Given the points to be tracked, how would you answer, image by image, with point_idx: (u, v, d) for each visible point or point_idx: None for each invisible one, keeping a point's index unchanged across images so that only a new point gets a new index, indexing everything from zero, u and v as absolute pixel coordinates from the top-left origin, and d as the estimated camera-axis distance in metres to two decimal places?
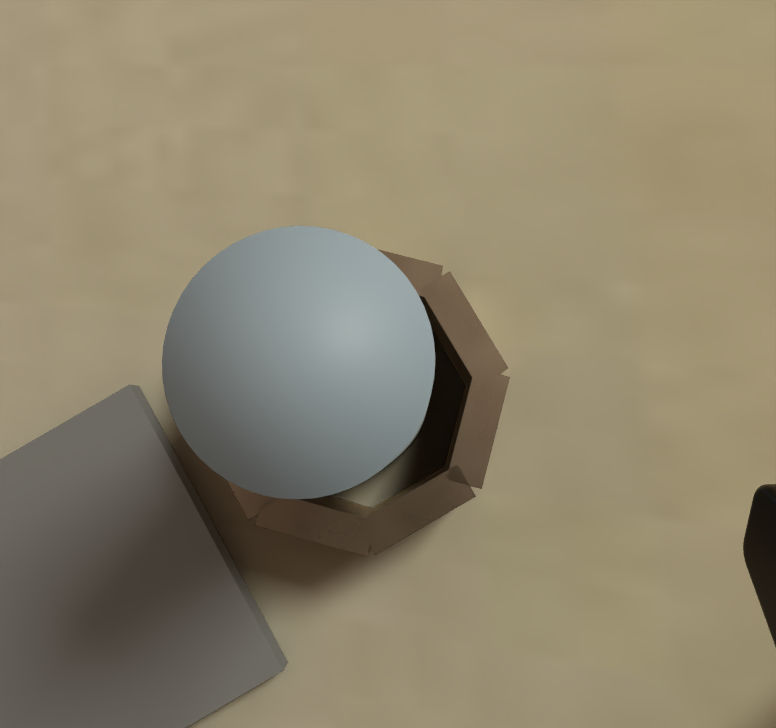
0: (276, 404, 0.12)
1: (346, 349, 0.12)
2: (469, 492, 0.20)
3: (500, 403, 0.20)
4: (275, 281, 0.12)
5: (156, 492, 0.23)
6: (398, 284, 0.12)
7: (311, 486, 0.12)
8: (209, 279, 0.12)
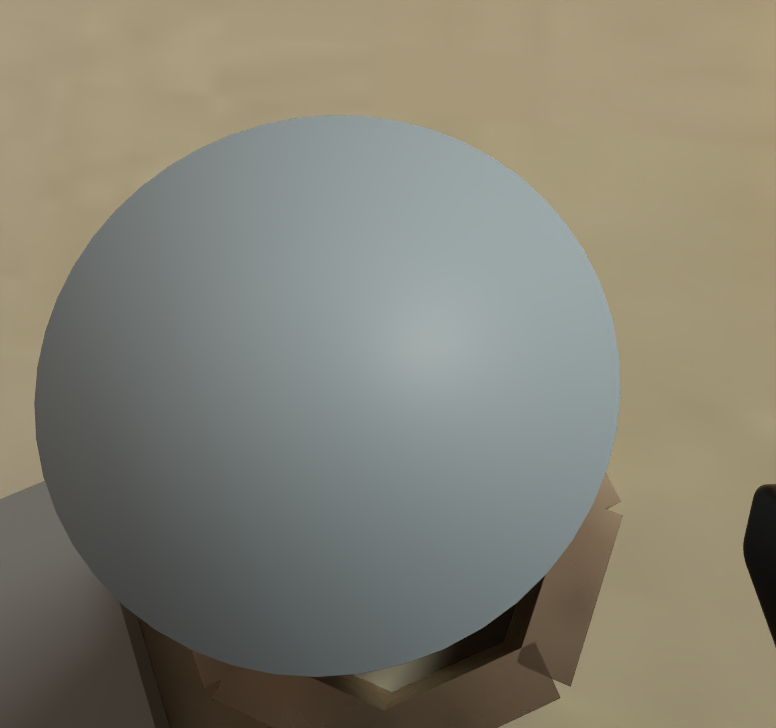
0: (264, 447, 0.05)
1: (429, 350, 0.06)
2: (550, 690, 0.13)
3: (606, 553, 0.14)
4: (301, 207, 0.06)
5: (83, 626, 0.16)
6: (548, 236, 0.06)
7: (314, 645, 0.05)
8: (172, 192, 0.06)
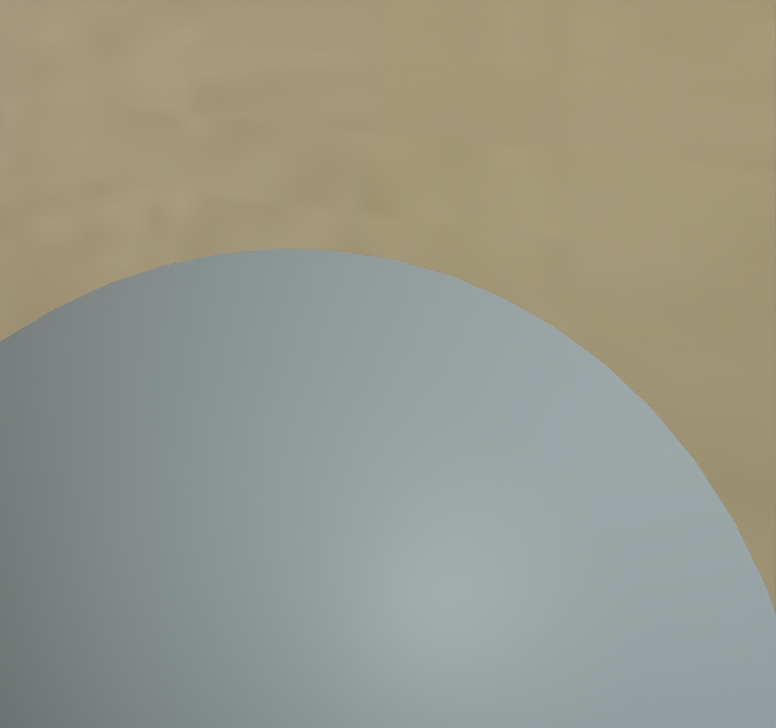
0: None
1: (452, 718, 0.03)
2: None
3: None
4: (228, 420, 0.03)
5: None
6: (666, 486, 0.03)
7: None
8: (8, 386, 0.04)
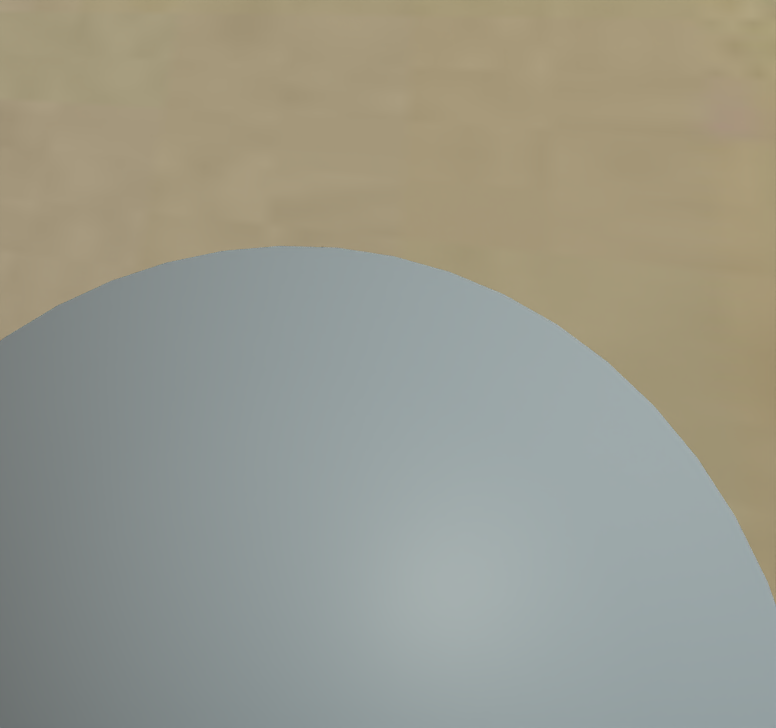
0: None
1: (454, 716, 0.03)
2: None
3: None
4: (231, 417, 0.03)
5: None
6: (668, 482, 0.03)
7: None
8: (10, 382, 0.04)
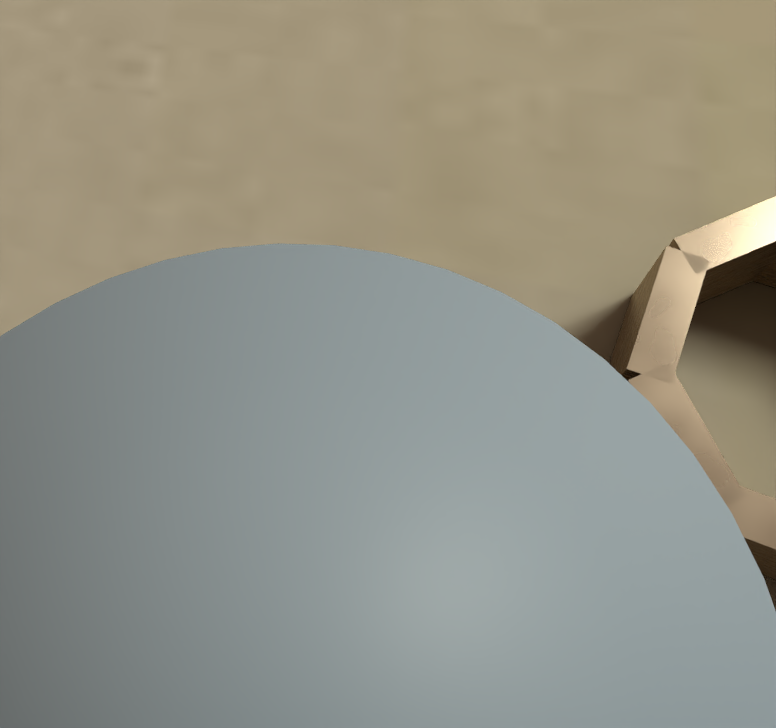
0: None
1: (451, 710, 0.03)
2: None
3: None
4: (229, 415, 0.03)
5: None
6: (664, 479, 0.03)
7: None
8: (8, 382, 0.04)
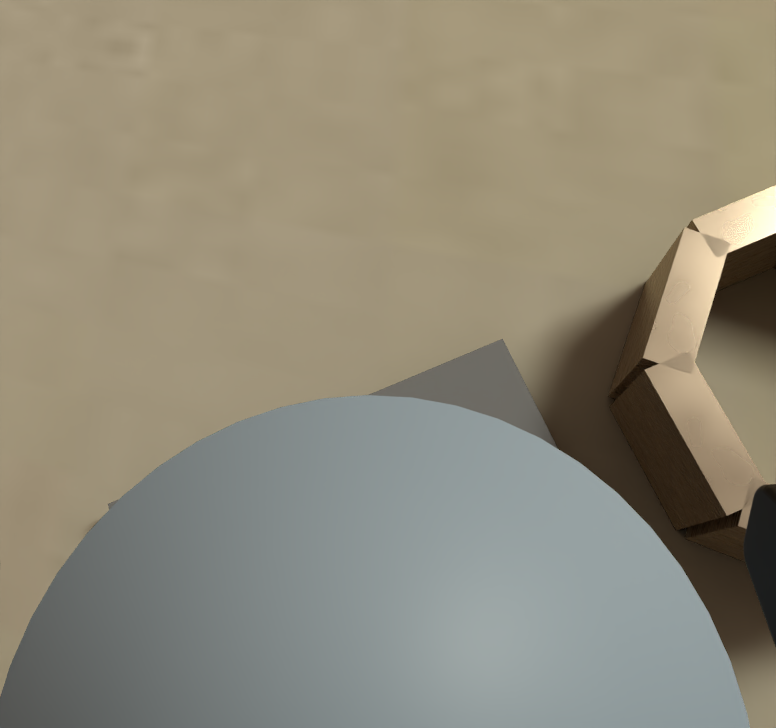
0: None
1: None
2: None
3: None
4: (336, 533, 0.05)
5: None
6: (660, 587, 0.04)
7: None
8: (164, 506, 0.05)
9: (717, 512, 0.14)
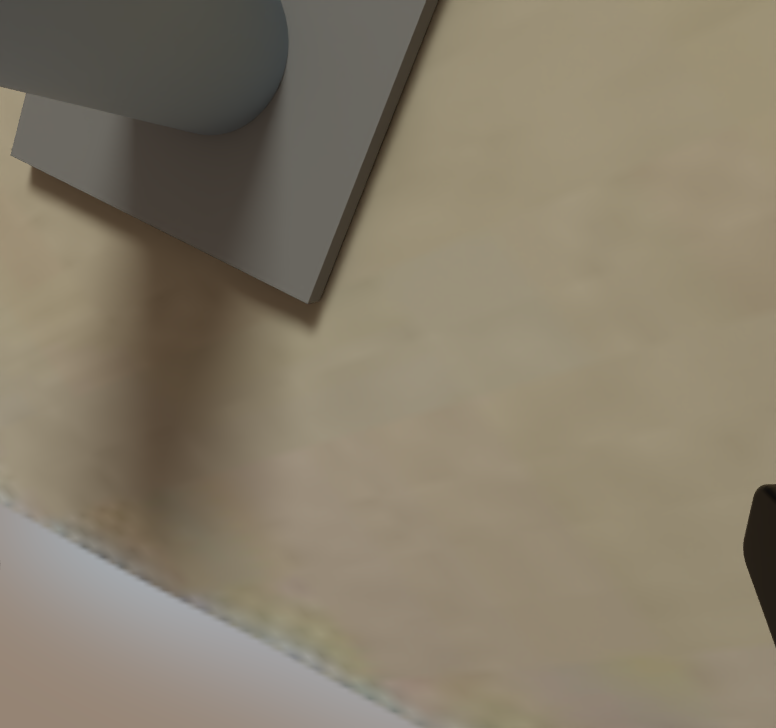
0: None
1: None
2: None
3: None
4: None
5: None
6: None
7: None
8: None
9: None
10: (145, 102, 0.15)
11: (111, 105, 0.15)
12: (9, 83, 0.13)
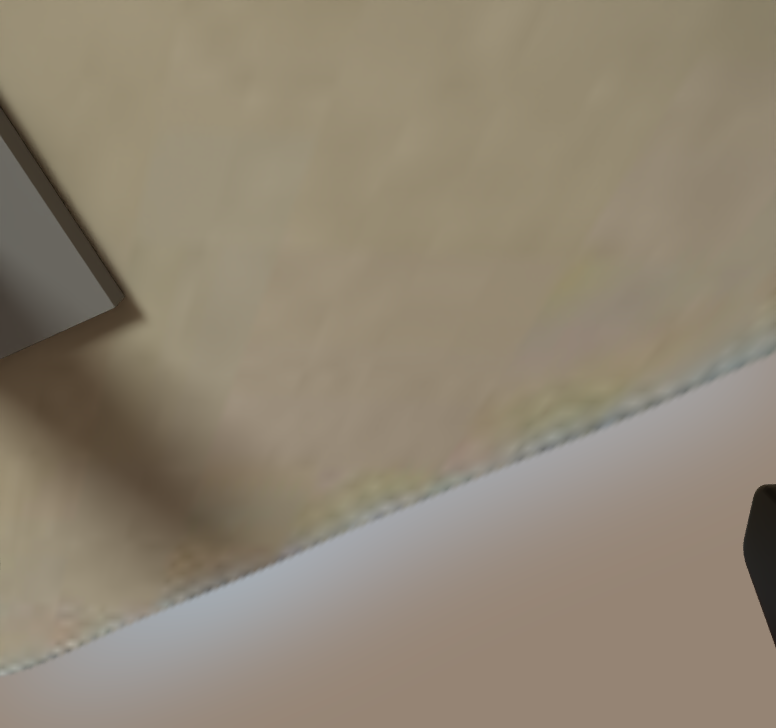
0: None
1: None
2: None
3: None
4: None
5: None
6: None
7: None
8: None
9: None
10: None
11: None
12: None
